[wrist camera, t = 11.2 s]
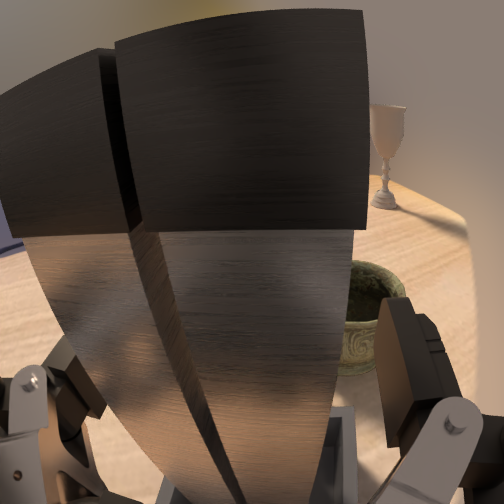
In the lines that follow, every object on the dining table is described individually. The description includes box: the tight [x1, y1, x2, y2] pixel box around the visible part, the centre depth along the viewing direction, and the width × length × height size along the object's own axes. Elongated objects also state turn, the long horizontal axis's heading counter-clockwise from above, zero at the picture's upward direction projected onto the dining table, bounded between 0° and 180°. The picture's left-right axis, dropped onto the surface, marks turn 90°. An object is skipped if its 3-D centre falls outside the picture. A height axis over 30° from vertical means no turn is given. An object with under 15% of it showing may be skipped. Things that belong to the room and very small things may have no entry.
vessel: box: [337, 260, 406, 376], centre depth 25 cm, size 12×9×6 cm
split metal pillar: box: [0, 8, 370, 504], centre depth 9 cm, size 5×5×20 cm
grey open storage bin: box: [155, 406, 358, 504], centre depth 13 cm, size 9×9×5 cm
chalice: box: [369, 104, 406, 209], centre depth 50 cm, size 7×7×18 cm
